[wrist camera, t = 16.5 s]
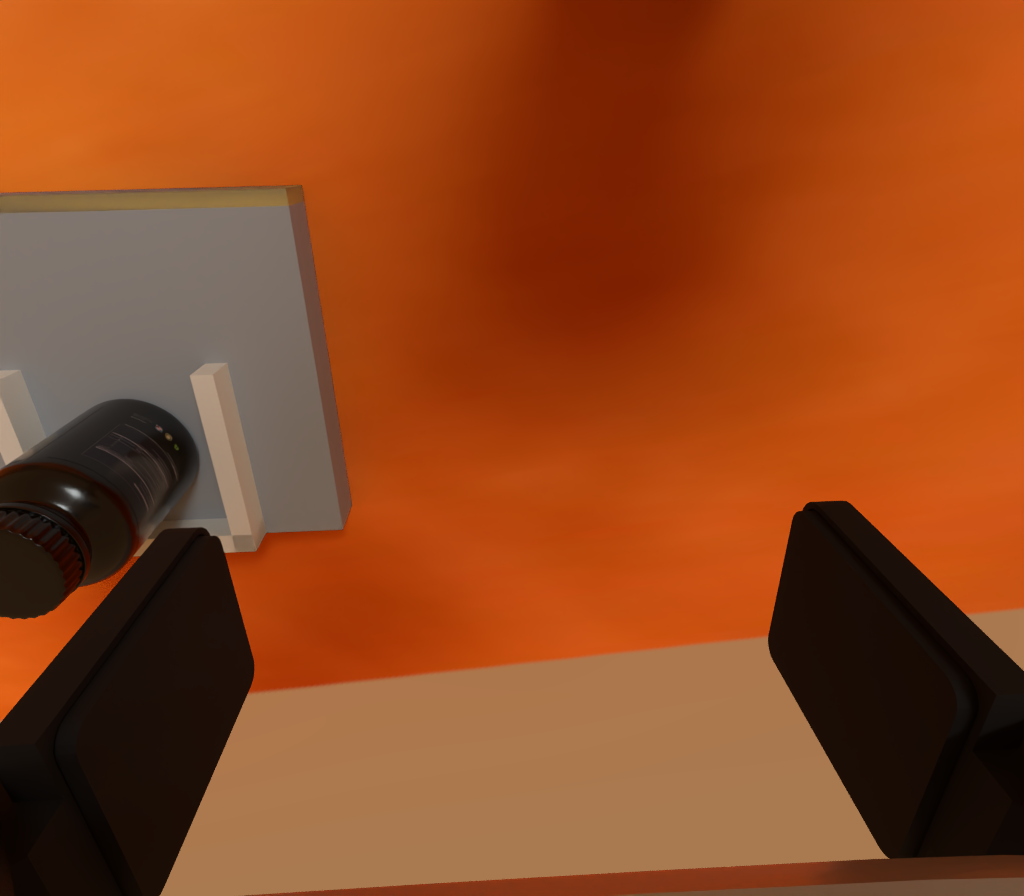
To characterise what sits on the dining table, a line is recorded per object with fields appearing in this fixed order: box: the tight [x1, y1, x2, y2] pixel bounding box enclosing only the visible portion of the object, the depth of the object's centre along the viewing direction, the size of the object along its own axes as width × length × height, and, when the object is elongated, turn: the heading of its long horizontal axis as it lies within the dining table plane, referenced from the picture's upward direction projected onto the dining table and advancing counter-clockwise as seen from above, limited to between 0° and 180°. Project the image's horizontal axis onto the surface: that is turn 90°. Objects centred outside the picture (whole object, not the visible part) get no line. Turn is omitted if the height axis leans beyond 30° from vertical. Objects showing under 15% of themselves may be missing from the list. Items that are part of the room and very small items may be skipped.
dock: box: [0, 185, 352, 557], centre depth 35 cm, size 20×22×5 cm
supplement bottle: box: [0, 399, 199, 619], centre depth 31 cm, size 7×7×12 cm
